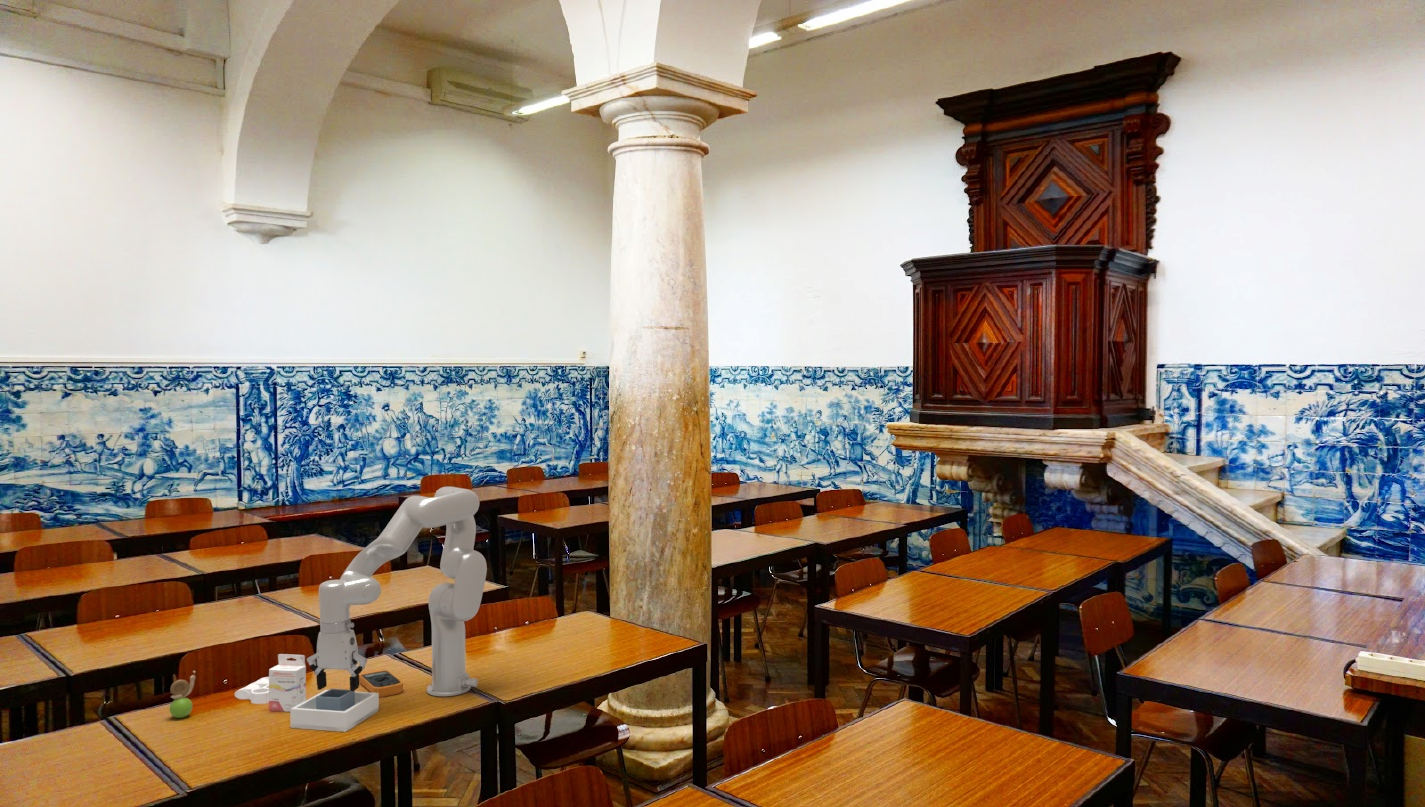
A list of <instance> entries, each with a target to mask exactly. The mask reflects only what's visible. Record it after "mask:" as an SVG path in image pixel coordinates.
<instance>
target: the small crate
mask: <svg viewBox="0 0 1425 807" xmlns="http://www.w3.org/2000/svg"><path fill="white" fill-rule="evenodd" d="M327 690H328V691H326V692H324V693H322V694H320V695H319V696H317V697H316V709H319V710H333V711H346V710H347V709H349V708H351V707H352V706H354V705H355V692H356V690H354V691H350V689H343V688H330V689H327Z"/></svg>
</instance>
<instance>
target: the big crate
mask: <svg viewBox="0 0 1425 807" xmlns="http://www.w3.org/2000/svg"><path fill="white" fill-rule="evenodd" d="M328 690H329V689H325V690H323V691H321V692H320V693H318V694H316V695H314V696H311V697H309V698H308V699H306V701H304V702H302V703H301V704H299V705H297V706H295V707H293V708H291V709H290V720H289V721H290V728H291V729H301V730H315V731H316V730H317V731H328V732H329V731H330V732H344V733H346V732H347V731H350V730H351V729H353V728H354V727H356V726H357V725H359V724H360V723H362V722H364V721H365V720H367V719H368V718H370V717H372V716H373V715H374V714H377V712H379V707H380V706H379V704H380V703H379V702H380V700H379V698H380V697H379V693H371V692H370V691H368V692H367V691H355V705H354V706H352V707H351V708H349V709H347V710H346V711H333V710H319V709H316V697H317V696H319V695H320V694H322V693H324V692H326V691H328Z"/></svg>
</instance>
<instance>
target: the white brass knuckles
mask: <svg viewBox="0 0 1425 807" xmlns="http://www.w3.org/2000/svg"><path fill="white" fill-rule="evenodd" d="M234 697H235V698H236V699H238V700H250V703H251V704H254V705H262V704H269V676H265V677H261V678H259V679H258V680H256V681H254V682H251V683H250V684H248V685H246V686H244V687H242V688H240V689H238V690H236V691H235V692H234Z"/></svg>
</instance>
